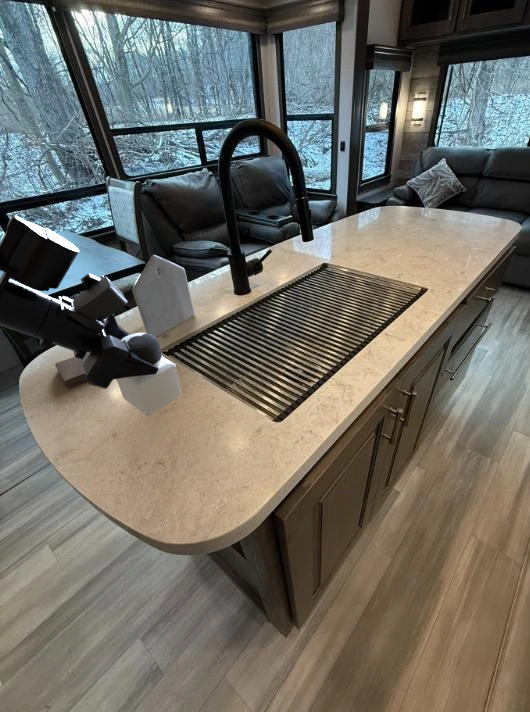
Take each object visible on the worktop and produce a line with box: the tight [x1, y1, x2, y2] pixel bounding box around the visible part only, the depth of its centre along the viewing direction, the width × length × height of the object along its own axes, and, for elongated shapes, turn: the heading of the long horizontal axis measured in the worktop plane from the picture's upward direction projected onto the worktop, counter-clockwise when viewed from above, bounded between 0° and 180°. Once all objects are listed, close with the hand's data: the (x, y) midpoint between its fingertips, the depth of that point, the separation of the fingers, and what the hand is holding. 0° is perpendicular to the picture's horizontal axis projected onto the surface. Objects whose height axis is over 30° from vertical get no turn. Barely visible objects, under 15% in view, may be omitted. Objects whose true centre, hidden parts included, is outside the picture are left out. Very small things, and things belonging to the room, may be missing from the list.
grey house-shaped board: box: [131, 254, 196, 338], centre depth 87 cm, size 16×8×19 cm, turn 149°
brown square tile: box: [54, 352, 91, 390], centre depth 75 cm, size 9×9×2 cm
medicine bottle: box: [116, 332, 182, 417], centre depth 55 cm, size 7×7×12 cm
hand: (151, 359), depth 55 cm, fingers closed on medicine bottle, 7 cm apart
